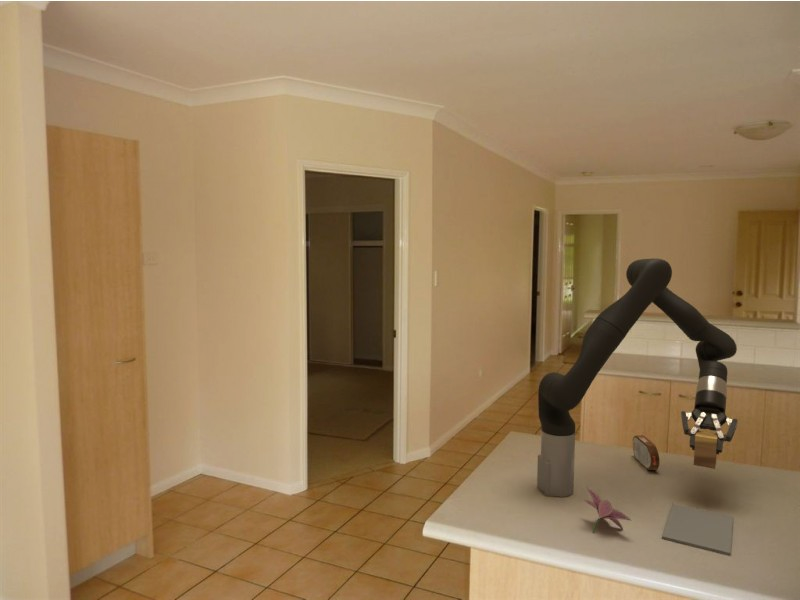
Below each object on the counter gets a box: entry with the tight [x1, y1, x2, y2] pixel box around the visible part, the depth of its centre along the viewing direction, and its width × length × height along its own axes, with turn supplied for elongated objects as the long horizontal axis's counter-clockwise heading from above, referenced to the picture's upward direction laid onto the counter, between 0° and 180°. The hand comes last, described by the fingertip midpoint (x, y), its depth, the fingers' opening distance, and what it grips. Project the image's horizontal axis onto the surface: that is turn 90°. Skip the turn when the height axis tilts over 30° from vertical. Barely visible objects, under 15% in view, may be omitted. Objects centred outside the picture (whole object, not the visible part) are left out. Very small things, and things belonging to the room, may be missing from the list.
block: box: [693, 430, 718, 470], centre depth 151 cm, size 5×5×8 cm
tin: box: [632, 434, 661, 471], centre depth 179 cm, size 15×3×8 cm, turn 179°
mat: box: [661, 503, 734, 556], centre depth 139 cm, size 20×14×1 cm
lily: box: [583, 486, 632, 534], centre depth 139 cm, size 12×12×10 cm
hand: (705, 450), depth 149 cm, fingers closed on block, 5 cm apart
